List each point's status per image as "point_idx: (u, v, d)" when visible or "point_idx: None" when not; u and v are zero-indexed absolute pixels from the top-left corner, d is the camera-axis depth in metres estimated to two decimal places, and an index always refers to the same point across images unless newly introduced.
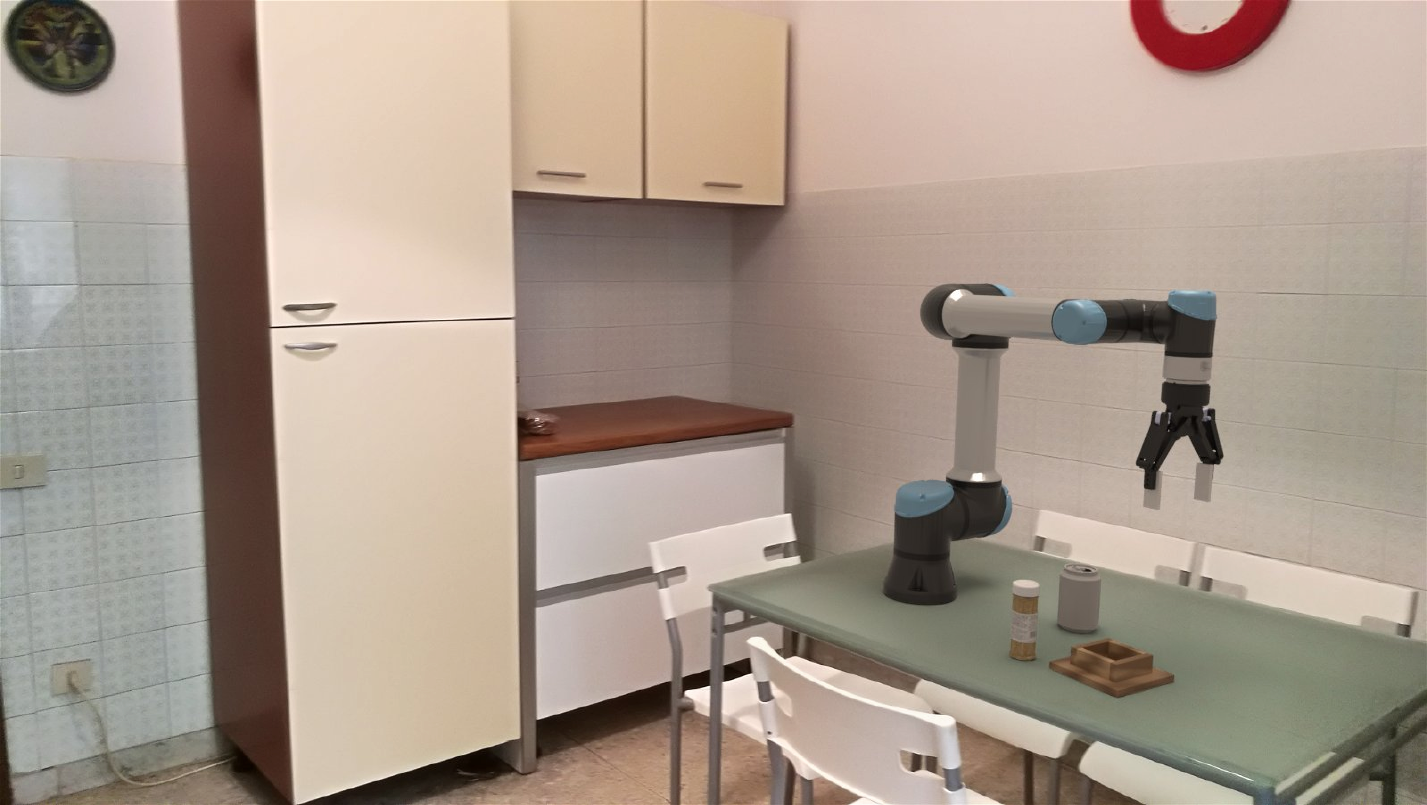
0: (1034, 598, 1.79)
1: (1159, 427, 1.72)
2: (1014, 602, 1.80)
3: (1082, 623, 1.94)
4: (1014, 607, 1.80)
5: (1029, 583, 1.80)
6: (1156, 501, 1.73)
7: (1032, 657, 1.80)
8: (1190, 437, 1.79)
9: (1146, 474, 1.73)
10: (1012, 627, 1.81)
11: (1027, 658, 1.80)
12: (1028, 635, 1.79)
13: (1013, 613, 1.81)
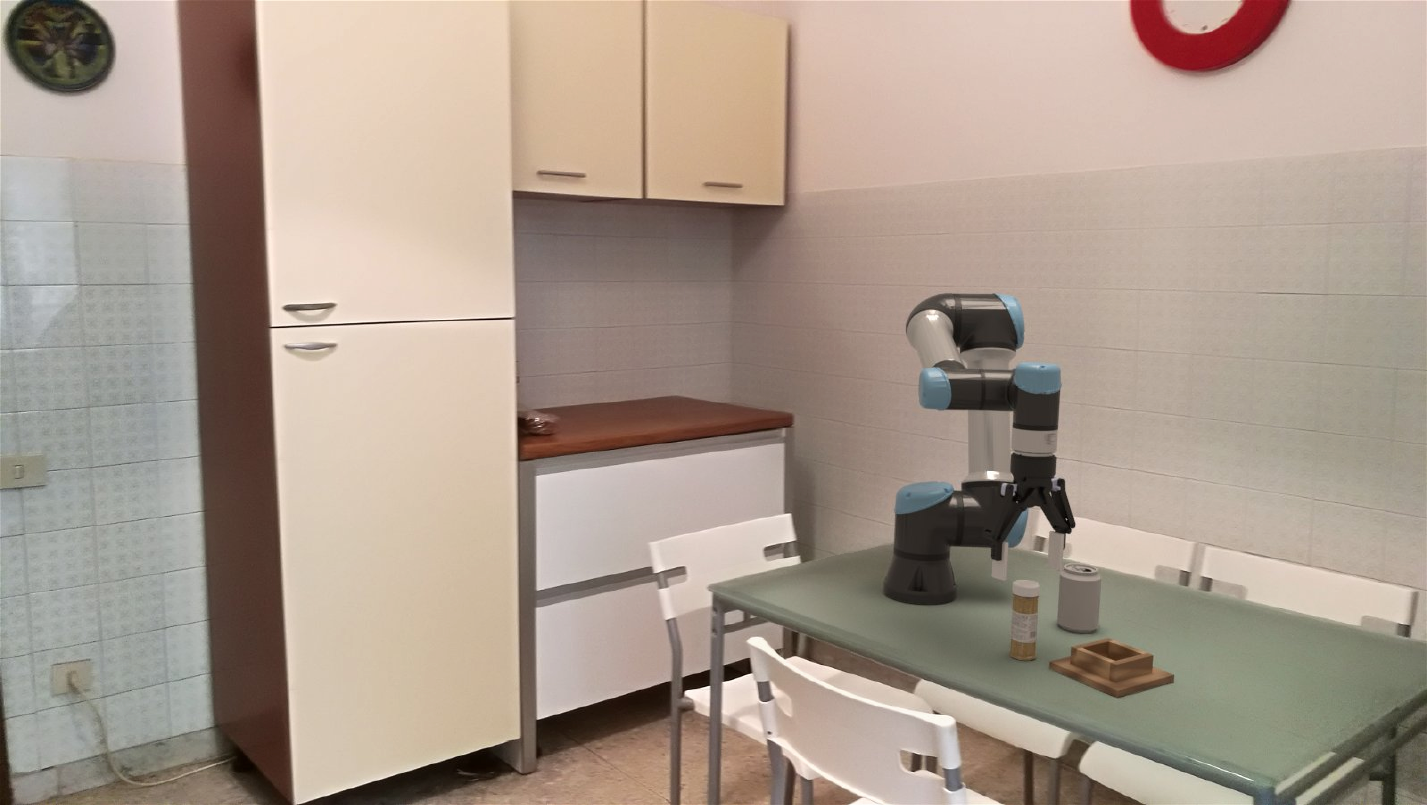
0: (1034, 598, 1.79)
1: (1004, 499, 1.74)
2: (1014, 602, 1.80)
3: (1082, 623, 1.94)
4: (1014, 607, 1.80)
5: (1029, 582, 1.80)
6: (1002, 571, 1.75)
7: (1032, 657, 1.80)
8: (1041, 507, 1.81)
9: (992, 545, 1.75)
10: (1012, 627, 1.81)
11: (1027, 658, 1.80)
12: (1028, 635, 1.79)
13: (1013, 613, 1.81)
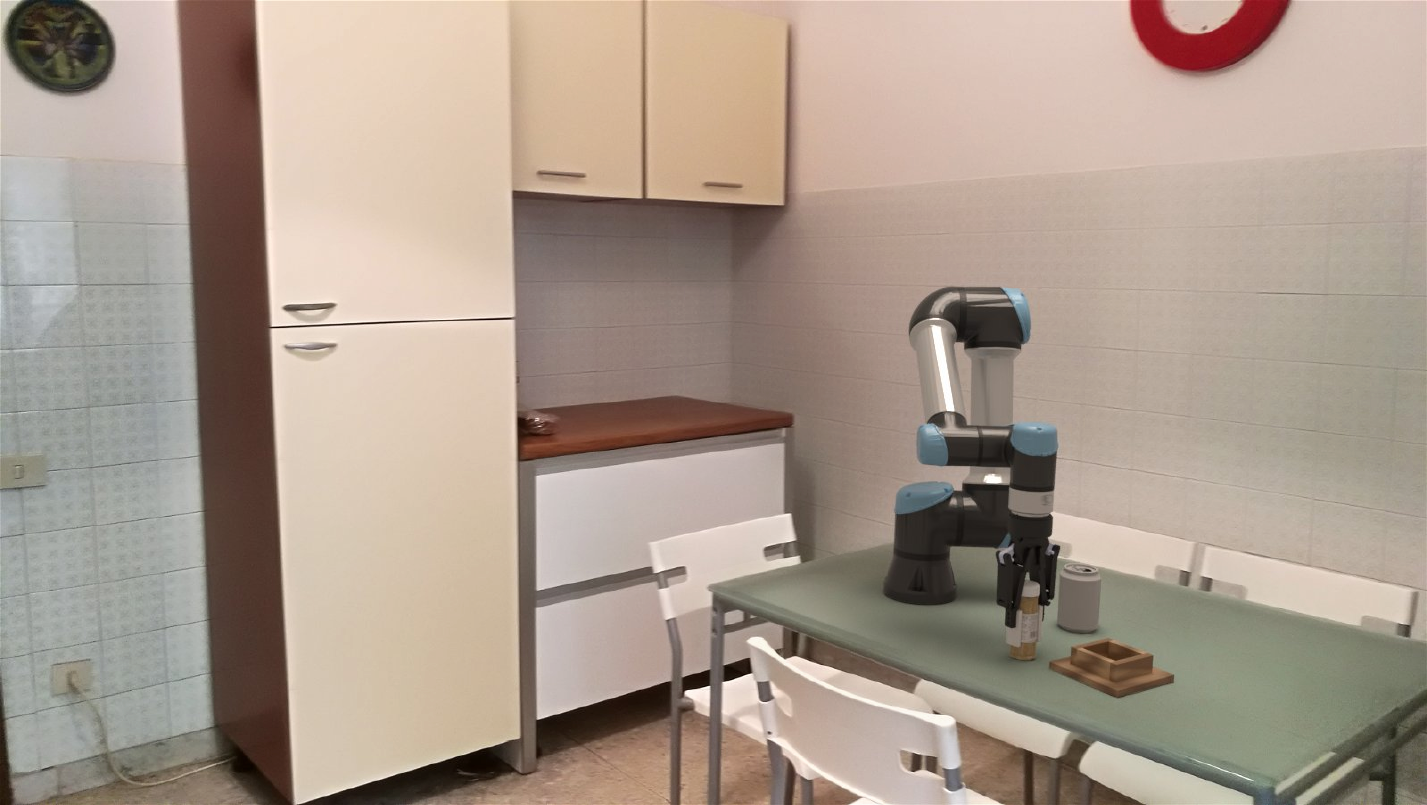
0: (1034, 598, 1.79)
1: (1005, 568, 1.76)
2: None
3: (1082, 623, 1.94)
4: None
5: (1029, 582, 1.80)
6: (1016, 638, 1.79)
7: (1032, 657, 1.80)
8: (1029, 569, 1.81)
9: (1007, 613, 1.79)
10: None
11: (1027, 658, 1.80)
12: (1028, 635, 1.79)
13: None
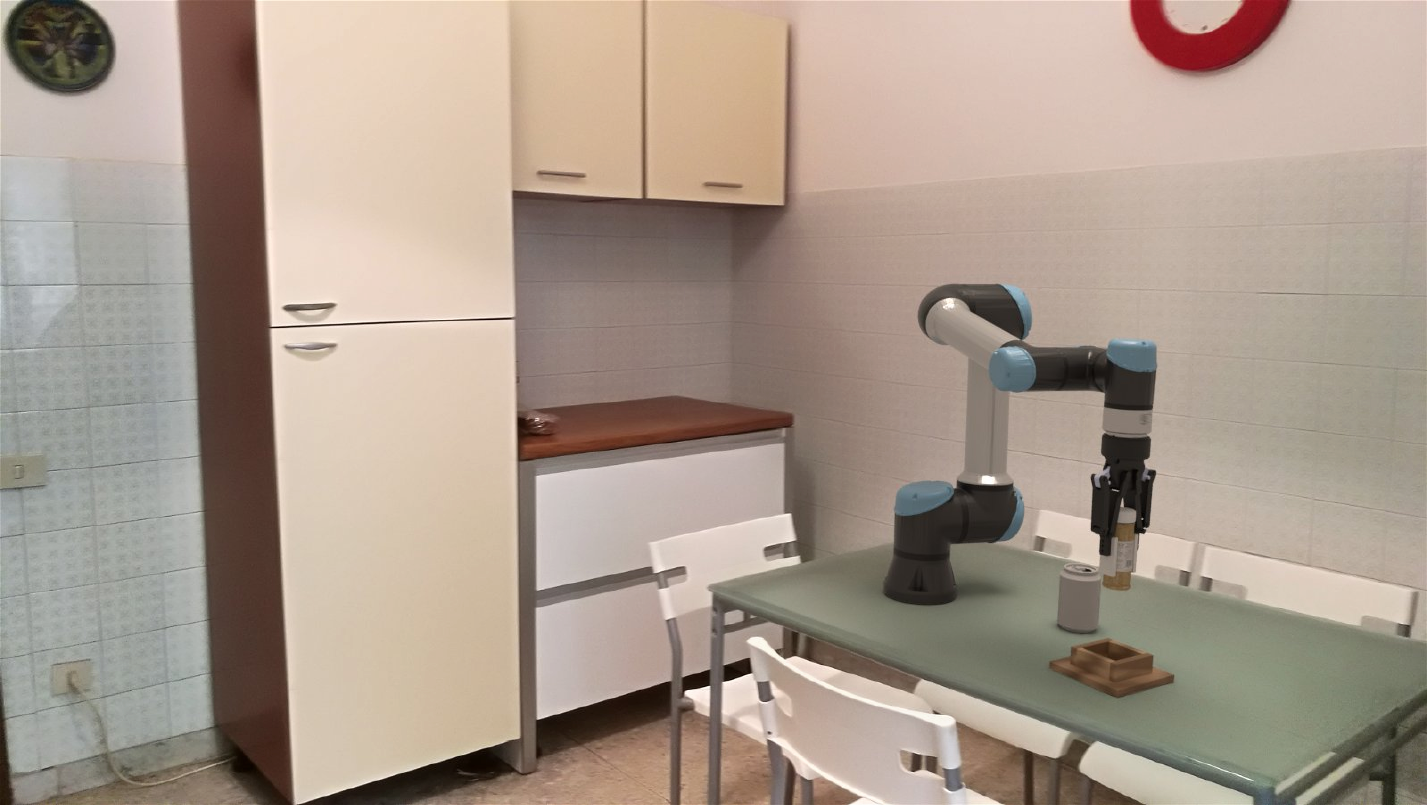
0: (1130, 524, 1.69)
1: (1101, 492, 1.67)
2: None
3: (1082, 623, 1.94)
4: None
5: (1125, 509, 1.71)
6: (1111, 567, 1.69)
7: (1128, 587, 1.70)
8: None
9: (1101, 540, 1.69)
10: None
11: (1122, 588, 1.70)
12: (1124, 564, 1.70)
13: None
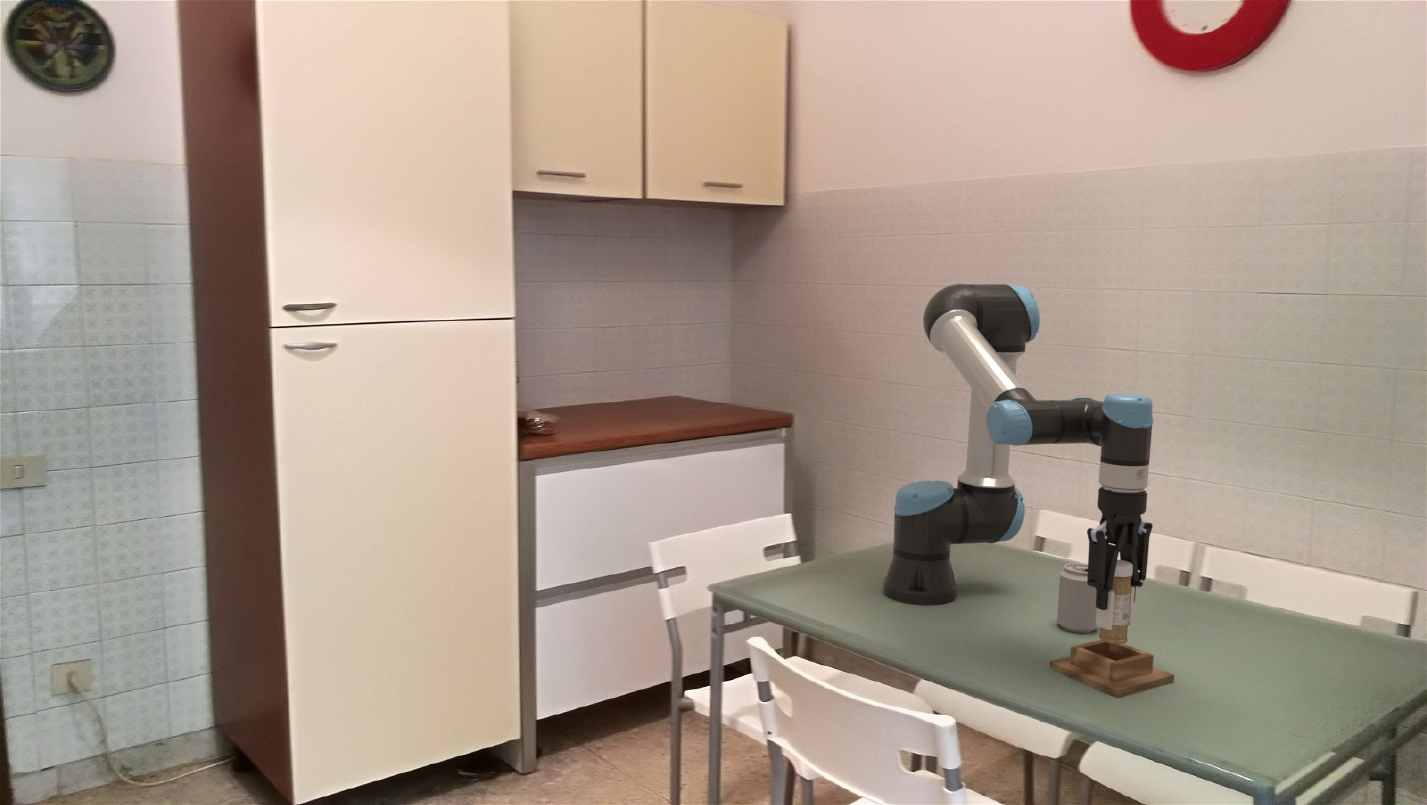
0: (1127, 578, 1.70)
1: (1098, 546, 1.68)
2: None
3: (1082, 623, 1.94)
4: None
5: (1121, 562, 1.72)
6: (1108, 620, 1.70)
7: (1124, 640, 1.71)
8: None
9: (1098, 593, 1.71)
10: None
11: (1119, 641, 1.71)
12: (1121, 618, 1.71)
13: None
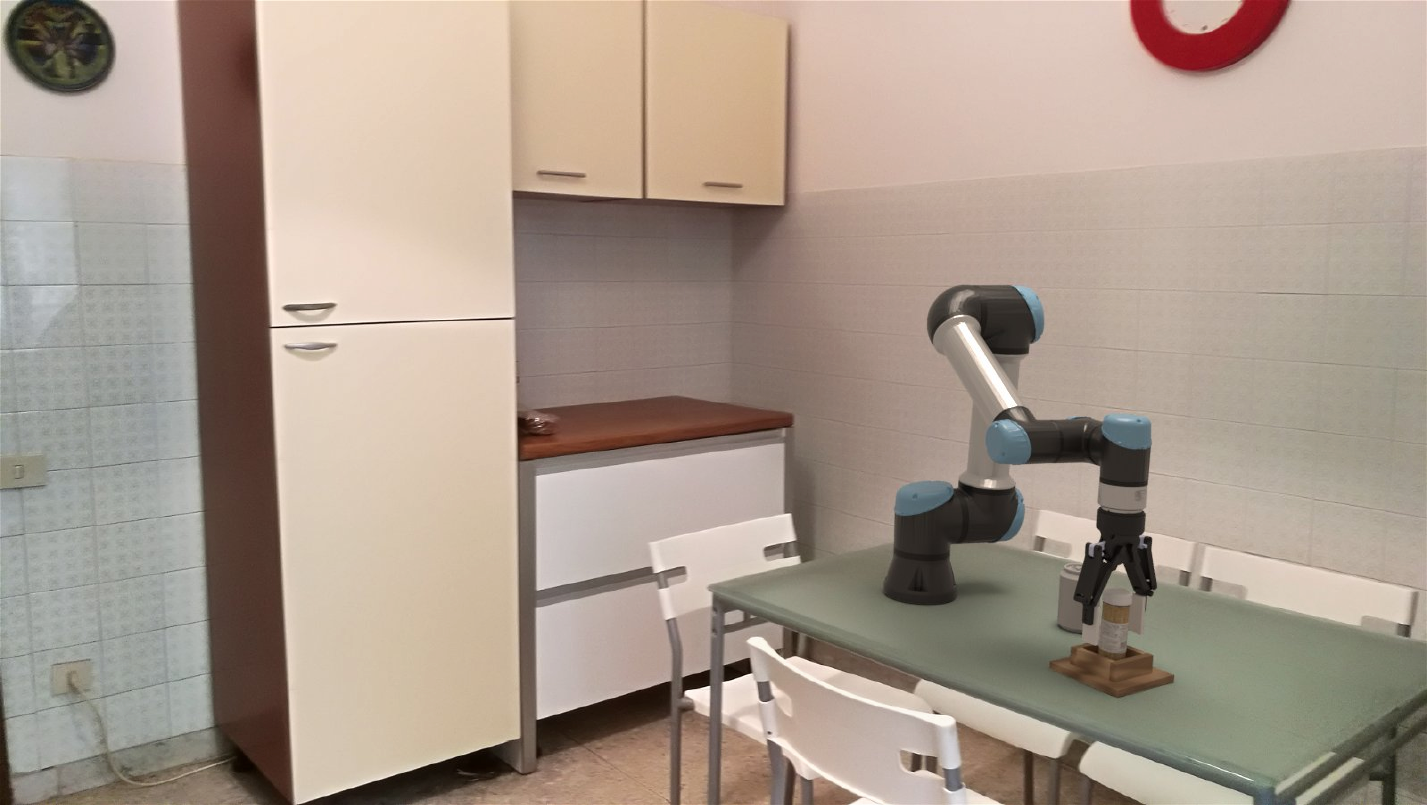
0: (1126, 607, 1.71)
1: (1093, 561, 1.68)
2: (1104, 611, 1.72)
3: (1082, 623, 1.94)
4: (1104, 616, 1.72)
5: (1121, 591, 1.72)
6: (1094, 636, 1.69)
7: None
8: (1124, 565, 1.74)
9: (1084, 609, 1.69)
10: (1101, 637, 1.73)
11: None
12: (1119, 646, 1.71)
13: (1102, 622, 1.73)
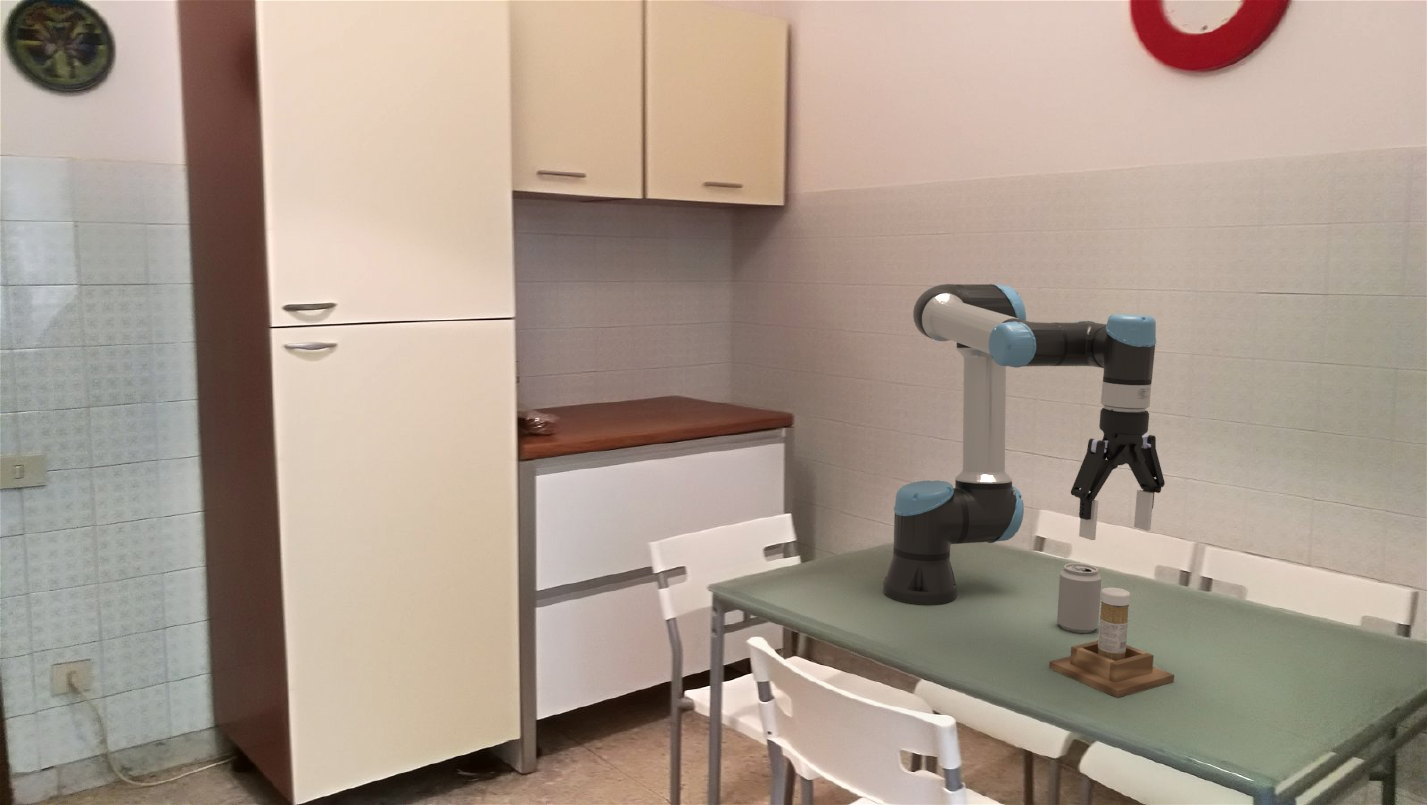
0: (1125, 607, 1.71)
1: (1095, 456, 1.67)
2: (1103, 611, 1.72)
3: (1082, 623, 1.94)
4: (1103, 616, 1.72)
5: (1119, 591, 1.72)
6: (1091, 531, 1.69)
7: None
8: (1130, 464, 1.74)
9: (1081, 503, 1.69)
10: (1100, 637, 1.73)
11: None
12: (1118, 646, 1.71)
13: (1101, 622, 1.73)
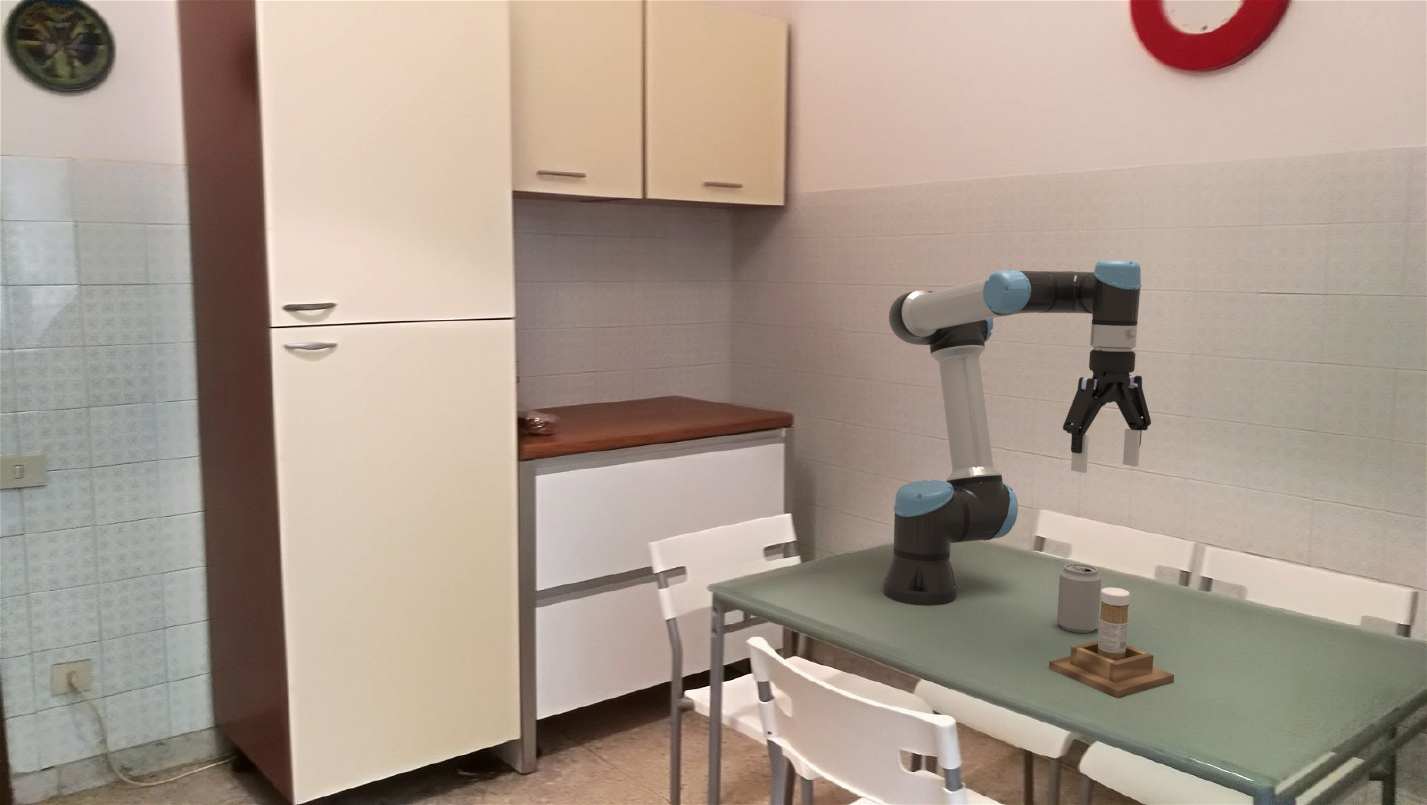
0: (1124, 607, 1.71)
1: (1085, 393, 1.78)
2: (1103, 611, 1.72)
3: (1082, 623, 1.94)
4: (1103, 616, 1.72)
5: (1119, 590, 1.72)
6: (1083, 464, 1.79)
7: None
8: (1118, 404, 1.85)
9: (1073, 438, 1.79)
10: (1100, 637, 1.73)
11: None
12: (1118, 646, 1.71)
13: (1101, 622, 1.73)
